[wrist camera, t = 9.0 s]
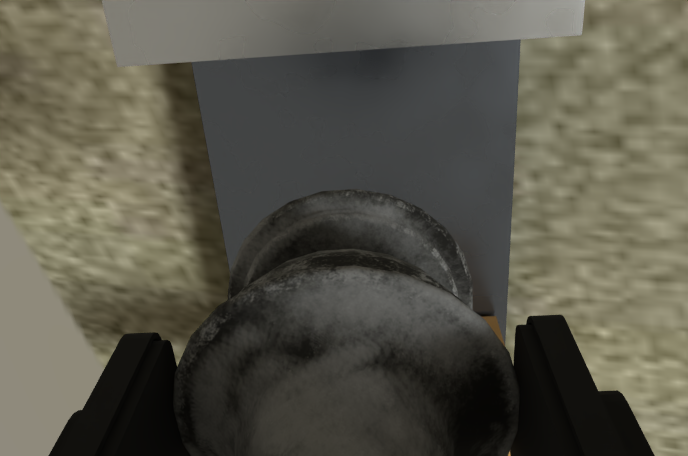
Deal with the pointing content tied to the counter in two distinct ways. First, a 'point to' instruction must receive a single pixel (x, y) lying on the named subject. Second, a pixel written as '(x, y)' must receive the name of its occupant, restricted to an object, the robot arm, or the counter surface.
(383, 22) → the vise
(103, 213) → the counter surface
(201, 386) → the dark grey chess piece
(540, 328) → the robot arm
